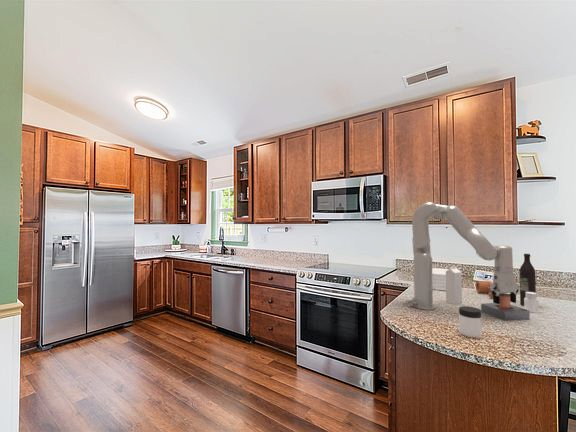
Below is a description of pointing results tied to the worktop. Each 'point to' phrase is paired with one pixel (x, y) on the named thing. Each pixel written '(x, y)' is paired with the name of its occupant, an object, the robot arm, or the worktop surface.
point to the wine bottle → (527, 278)
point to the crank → (484, 287)
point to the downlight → (531, 302)
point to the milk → (453, 286)
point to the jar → (470, 321)
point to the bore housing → (505, 312)
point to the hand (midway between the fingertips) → (504, 302)
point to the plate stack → (439, 278)
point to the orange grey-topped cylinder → (504, 301)
